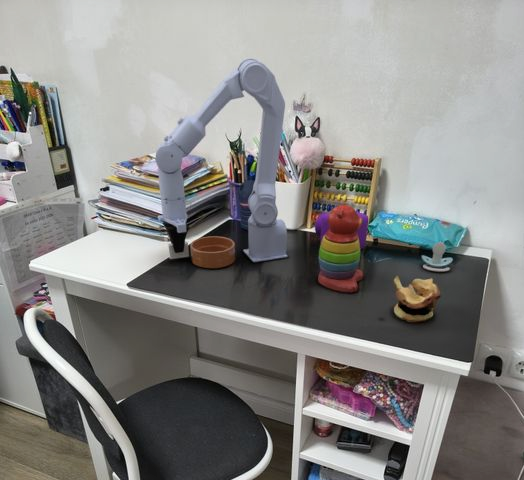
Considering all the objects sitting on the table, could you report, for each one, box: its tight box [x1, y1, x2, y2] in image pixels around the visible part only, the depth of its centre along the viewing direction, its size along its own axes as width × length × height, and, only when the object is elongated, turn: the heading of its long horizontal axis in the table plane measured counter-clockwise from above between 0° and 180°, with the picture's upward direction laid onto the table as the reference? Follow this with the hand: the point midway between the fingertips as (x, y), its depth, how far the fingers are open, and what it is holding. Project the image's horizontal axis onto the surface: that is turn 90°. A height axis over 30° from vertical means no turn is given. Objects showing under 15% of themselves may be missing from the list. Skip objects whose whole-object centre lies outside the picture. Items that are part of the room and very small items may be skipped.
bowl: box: [189, 235, 236, 269], centre depth 125 cm, size 11×11×4 cm
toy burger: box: [393, 275, 442, 323], centre depth 101 cm, size 12×10×8 cm
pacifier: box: [421, 241, 454, 273], centre depth 121 cm, size 7×6×6 cm
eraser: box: [167, 240, 190, 260], centre depth 126 cm, size 1×5×4 cm, turn 111°
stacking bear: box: [317, 202, 364, 294], centre depth 112 cm, size 11×10×18 cm
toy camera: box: [314, 211, 369, 250], centre depth 131 cm, size 11×14×10 cm
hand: (178, 250), depth 126 cm, fingers closed on eraser, 1 cm apart
